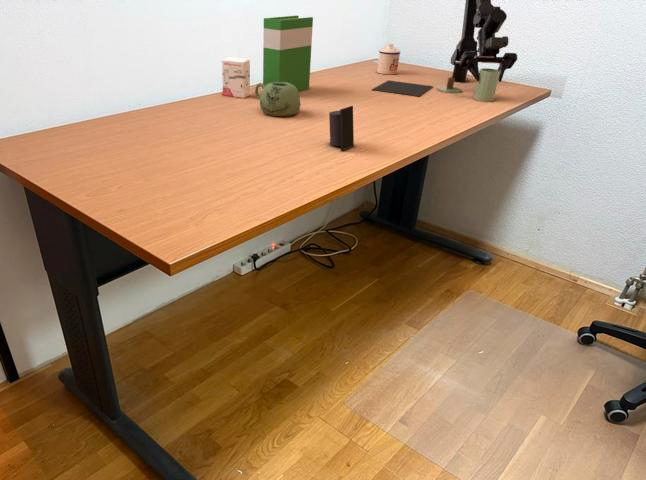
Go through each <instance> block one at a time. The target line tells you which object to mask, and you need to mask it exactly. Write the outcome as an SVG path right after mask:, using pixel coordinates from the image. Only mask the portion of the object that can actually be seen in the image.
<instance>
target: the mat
mask: <svg viewBox="0 0 646 480" xmlns="http://www.w3.org/2000/svg"><path fill="white" fill-rule="evenodd" d="M430 89H433V85H425V84H418V83H412V82H411V83H410V82H405V81H395V80H387V81H385V82H383V83H381V84H379V85H377V86H376V87H374V88H372V89H371V91H375V92H382V93H389V94H395V95H403V96H409V97H417V98H419V97H421V96H422V95H423V94H425V93H426V92H428V91H429V90H430Z"/></svg>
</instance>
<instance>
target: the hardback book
mask: <svg viewBox="0 0 646 480" xmlns="http://www.w3.org/2000/svg"><path fill="white" fill-rule="evenodd" d="M313 27H314V17H313V16H308V17H300V16H299V15H285V16H274V17H265V18H263V38H262V39H263V41H262V42H263V45H262V46H263V49H262V50H263V53H262V54H263V55H262V56H263V57H262V76H263V77H262V84H263V85H265V86H266V85H267V84H269V83H273V82H287V83H290V84H293V85H294V86H295V87H296V88H297V90H298V92H301V91H305V90H309V89H310V82H311V81H310V79H311V62H312V61H311V60H312V43H313Z"/></svg>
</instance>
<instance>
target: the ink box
mask: <svg viewBox="0 0 646 480" xmlns="http://www.w3.org/2000/svg"><path fill="white" fill-rule="evenodd" d="M250 61H251V60H250V59H248V58H241V57H229V56H228V57H226V58H224V59H222V60H221V71H222V72H221V73H222V74H221V75H222V78H221V79H222V96H227V97H234V98H241V99H244V98H247V97H249V96H250V95H251V65H250V63H251V62H250Z"/></svg>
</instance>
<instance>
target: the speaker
mask: <svg viewBox="0 0 646 480" xmlns="http://www.w3.org/2000/svg"><path fill="white" fill-rule="evenodd" d="M328 115H329V116H328V117H329V121H328V122H329V144H330V146H333V147H340V151H341V152H344V151H346V150H349V149H351V148H354V146H355V139H354V137H355V136H354V134H355V133H354V105H349V106H347V107H343V108H341V109H339V110H334V111H330V112H329V113H328Z"/></svg>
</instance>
